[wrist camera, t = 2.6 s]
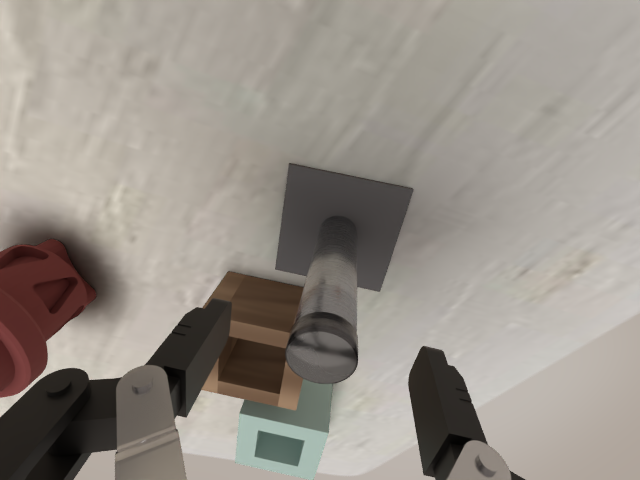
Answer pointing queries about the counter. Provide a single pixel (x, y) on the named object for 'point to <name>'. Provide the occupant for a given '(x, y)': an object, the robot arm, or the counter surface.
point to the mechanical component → (35, 308)
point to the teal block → (286, 433)
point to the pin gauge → (328, 308)
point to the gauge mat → (341, 200)
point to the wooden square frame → (257, 342)
